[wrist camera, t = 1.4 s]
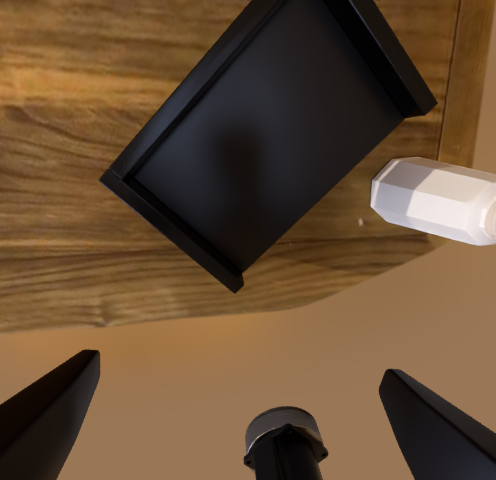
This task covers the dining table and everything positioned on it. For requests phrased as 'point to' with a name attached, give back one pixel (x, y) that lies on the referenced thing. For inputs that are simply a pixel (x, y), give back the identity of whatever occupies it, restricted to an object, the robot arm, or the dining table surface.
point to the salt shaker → (437, 199)
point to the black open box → (267, 128)
